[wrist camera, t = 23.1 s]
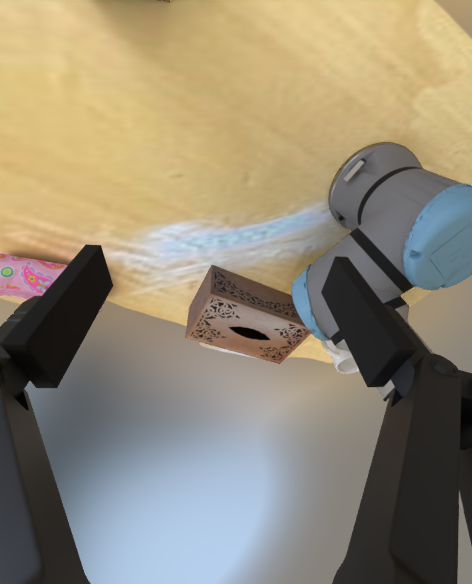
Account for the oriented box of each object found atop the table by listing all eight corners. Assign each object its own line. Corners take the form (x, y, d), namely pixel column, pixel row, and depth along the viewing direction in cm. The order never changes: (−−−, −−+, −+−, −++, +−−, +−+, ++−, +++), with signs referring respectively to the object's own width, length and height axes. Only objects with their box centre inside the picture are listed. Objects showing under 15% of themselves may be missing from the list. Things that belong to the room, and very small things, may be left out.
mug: (308, 337, 73) (318, 367, 65) (325, 319, 68) (339, 349, 60) (339, 346, 77) (352, 376, 69) (357, 330, 72) (374, 360, 64)
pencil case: (115, 267, 54) (99, 294, 47) (114, 297, 60) (100, 325, 53) (2, 241, 49) (-34, 267, 42) (12, 277, 55) (-19, 304, 48)
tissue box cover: (303, 300, 63) (314, 329, 56) (273, 334, 71) (279, 363, 64) (211, 264, 55) (210, 293, 47) (189, 307, 63) (185, 337, 55)
